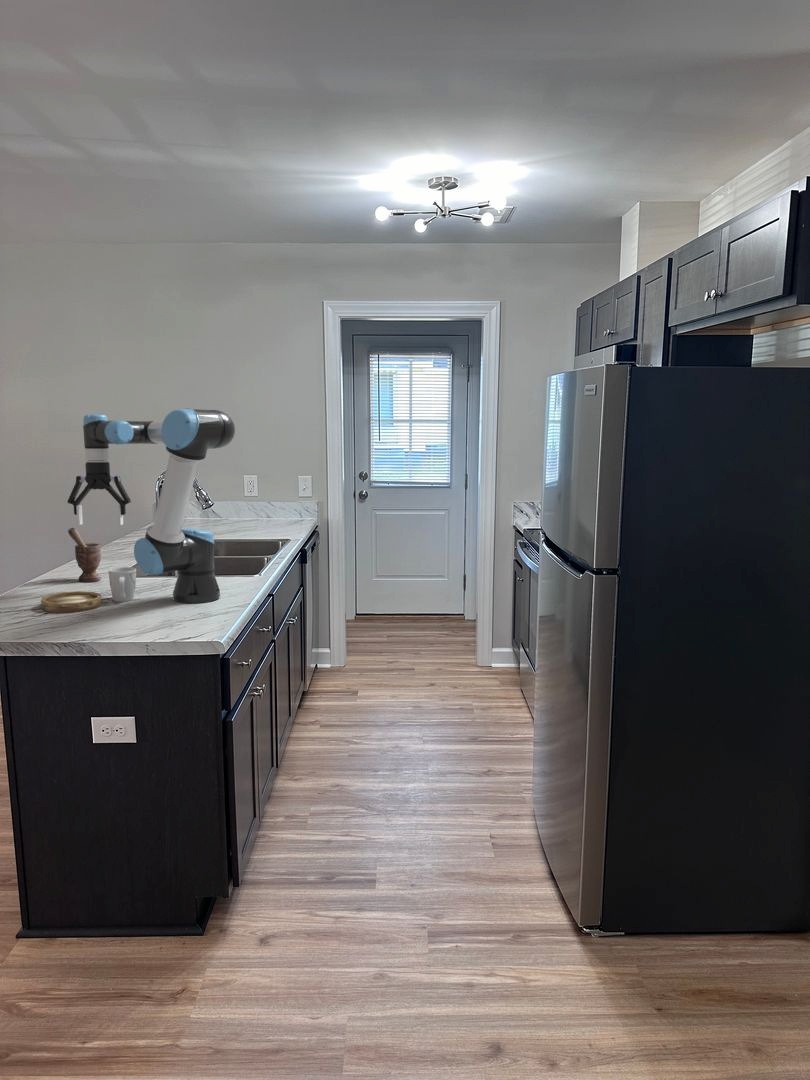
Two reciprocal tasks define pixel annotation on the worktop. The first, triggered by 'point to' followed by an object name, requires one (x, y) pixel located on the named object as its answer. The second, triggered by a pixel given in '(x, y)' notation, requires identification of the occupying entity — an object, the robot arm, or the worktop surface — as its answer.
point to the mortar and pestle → (86, 557)
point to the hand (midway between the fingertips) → (100, 524)
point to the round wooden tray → (71, 602)
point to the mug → (122, 583)
